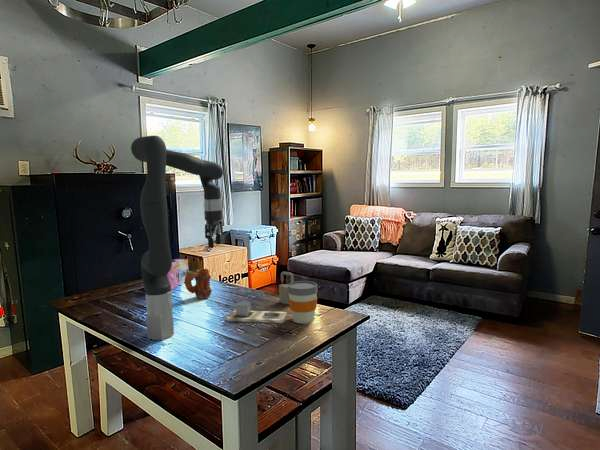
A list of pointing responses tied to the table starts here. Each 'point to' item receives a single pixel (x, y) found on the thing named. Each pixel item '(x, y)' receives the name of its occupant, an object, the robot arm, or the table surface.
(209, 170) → the robot arm
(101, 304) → the table surface
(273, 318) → the beige flat rectangular frame
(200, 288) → the mug
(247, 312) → the grey block
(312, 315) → the reusable coffee cup
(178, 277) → the gum box
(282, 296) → the padlock
